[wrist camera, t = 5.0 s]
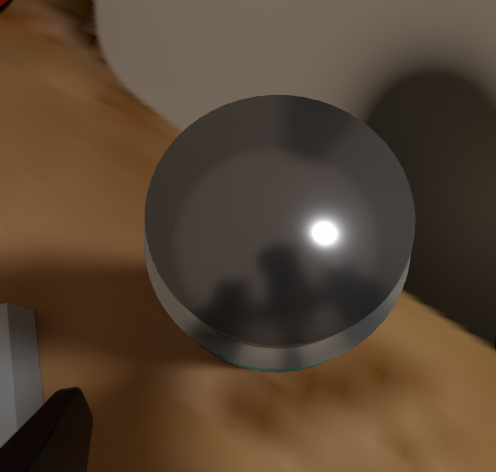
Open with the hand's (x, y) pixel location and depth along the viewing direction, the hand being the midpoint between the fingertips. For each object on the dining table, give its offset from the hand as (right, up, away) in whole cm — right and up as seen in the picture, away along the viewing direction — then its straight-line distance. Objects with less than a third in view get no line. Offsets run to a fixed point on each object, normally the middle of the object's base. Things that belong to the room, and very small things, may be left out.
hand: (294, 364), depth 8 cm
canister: (0, -1, +10) cm, 10 cm away
